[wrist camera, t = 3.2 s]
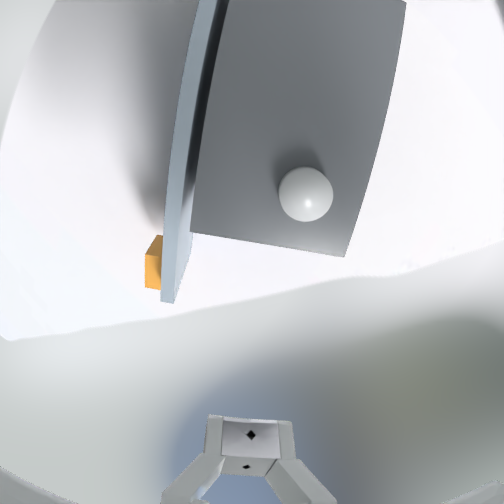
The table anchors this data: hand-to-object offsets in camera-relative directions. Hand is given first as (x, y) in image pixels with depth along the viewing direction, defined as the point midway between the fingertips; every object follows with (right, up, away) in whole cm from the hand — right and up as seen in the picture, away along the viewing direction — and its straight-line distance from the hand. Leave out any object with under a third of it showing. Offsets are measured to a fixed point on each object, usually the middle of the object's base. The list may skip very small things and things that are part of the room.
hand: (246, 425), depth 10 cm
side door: (-4, +15, +9) cm, 18 cm away
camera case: (+2, +16, +9) cm, 19 cm away
